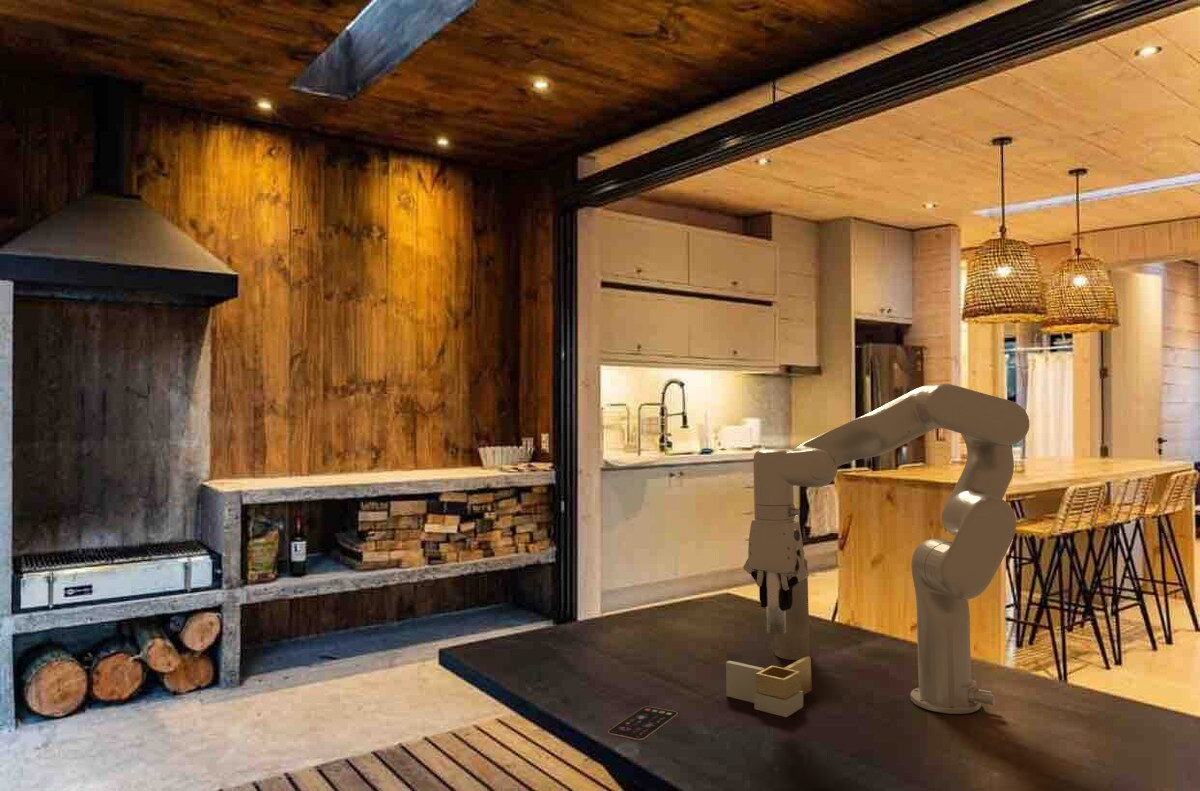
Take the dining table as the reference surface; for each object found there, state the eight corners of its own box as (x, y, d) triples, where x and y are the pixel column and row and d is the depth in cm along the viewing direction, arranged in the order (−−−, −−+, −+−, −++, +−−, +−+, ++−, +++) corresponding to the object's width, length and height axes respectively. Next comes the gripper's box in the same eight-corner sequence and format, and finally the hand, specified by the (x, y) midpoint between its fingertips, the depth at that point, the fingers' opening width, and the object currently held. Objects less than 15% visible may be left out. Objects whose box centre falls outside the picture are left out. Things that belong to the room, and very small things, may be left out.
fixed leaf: (823, 693, 164) (822, 659, 164) (785, 716, 152) (784, 680, 152) (795, 686, 168) (794, 653, 168) (756, 708, 156) (755, 673, 156)
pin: (789, 631, 156) (787, 563, 157) (780, 635, 154) (778, 566, 154) (772, 628, 159) (771, 561, 159) (763, 632, 156) (762, 564, 156)
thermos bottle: (772, 649, 194) (770, 532, 194) (806, 649, 193) (803, 532, 193) (776, 659, 186) (773, 537, 186) (812, 660, 185) (809, 537, 186)
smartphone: (679, 712, 154) (641, 740, 142) (679, 715, 154) (641, 743, 142) (645, 705, 158) (605, 732, 146) (645, 708, 158) (605, 735, 146)
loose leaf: (803, 706, 156) (802, 671, 157) (786, 717, 151) (785, 680, 151) (737, 690, 166) (736, 657, 166) (719, 699, 161) (718, 665, 161)
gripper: (822, 514, 154) (824, 610, 154) (746, 508, 165) (748, 598, 165) (804, 518, 148) (806, 618, 148) (727, 512, 159) (729, 605, 159)
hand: (776, 606), depth 156 cm, fingers closed on pin, 3 cm apart
